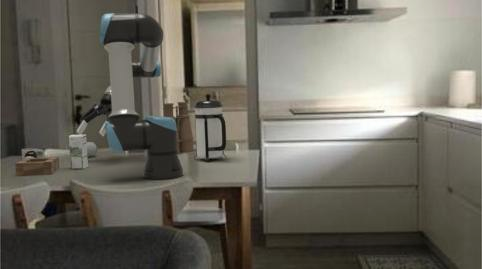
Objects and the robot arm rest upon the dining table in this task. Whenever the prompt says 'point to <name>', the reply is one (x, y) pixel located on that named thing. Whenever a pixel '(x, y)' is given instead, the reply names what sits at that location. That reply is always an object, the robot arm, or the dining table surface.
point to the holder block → (37, 166)
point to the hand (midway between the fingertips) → (89, 134)
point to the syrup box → (78, 151)
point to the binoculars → (181, 126)
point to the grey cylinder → (91, 149)
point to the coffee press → (209, 129)
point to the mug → (31, 153)
